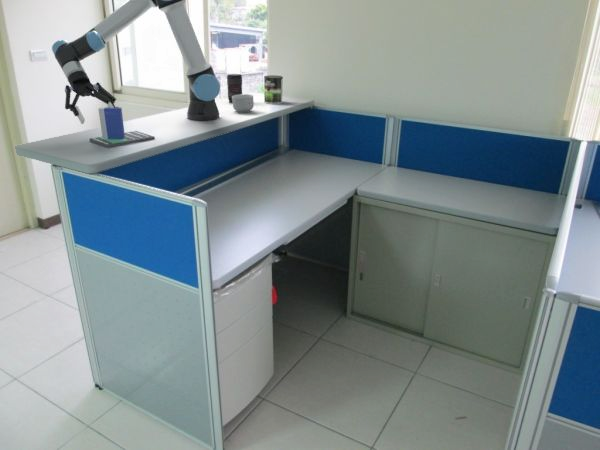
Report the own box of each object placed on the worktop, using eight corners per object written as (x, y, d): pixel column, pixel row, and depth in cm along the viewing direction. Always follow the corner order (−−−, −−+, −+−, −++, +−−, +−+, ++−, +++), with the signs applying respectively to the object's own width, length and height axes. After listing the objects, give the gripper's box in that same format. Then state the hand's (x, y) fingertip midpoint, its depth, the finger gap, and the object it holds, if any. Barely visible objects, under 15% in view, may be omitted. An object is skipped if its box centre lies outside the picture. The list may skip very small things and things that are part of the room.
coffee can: (275, 104, 276) (275, 78, 270) (260, 102, 281) (260, 76, 275) (286, 102, 284) (286, 76, 279) (271, 100, 289) (271, 74, 283)
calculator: (136, 133, 210) (136, 130, 209) (154, 139, 201) (154, 136, 200) (89, 141, 196) (89, 137, 196) (107, 147, 187) (106, 144, 187)
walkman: (125, 137, 197) (121, 106, 192) (123, 139, 195) (119, 107, 190) (104, 137, 197) (100, 106, 192) (102, 139, 194) (97, 107, 189)
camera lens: (244, 101, 283) (244, 74, 277) (239, 104, 276) (238, 75, 270) (231, 100, 285) (230, 73, 279) (225, 103, 278) (224, 74, 272)
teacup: (252, 113, 252) (252, 97, 249) (230, 113, 252) (230, 97, 249) (255, 108, 264) (255, 93, 261) (234, 108, 265) (234, 92, 261)
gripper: (103, 79, 212) (126, 120, 209) (42, 84, 195) (66, 129, 192) (108, 67, 207) (131, 109, 204) (46, 72, 190) (70, 118, 187)
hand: (100, 119), depth 198 cm, fingers open, 13 cm apart
